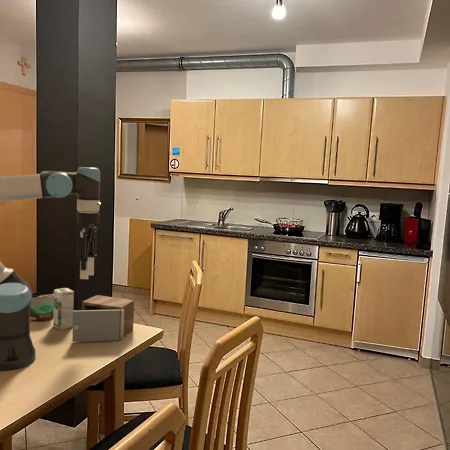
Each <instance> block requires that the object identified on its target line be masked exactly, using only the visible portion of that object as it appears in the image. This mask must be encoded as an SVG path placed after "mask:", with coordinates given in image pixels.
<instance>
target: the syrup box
mask: <svg viewBox="0 0 450 450" xmlns="http://www.w3.org/2000/svg"><path fill="white" fill-rule="evenodd" d="M53 293H54V312H53V319H52V320H53V322H52V325H53V327H54V328H56V329H57V330H58V331H61V330H62V331H63V330H65V329H71V328H72V329H73V311H74V302H75V301H74V297H75V291H74V290H72V289H70V288H68V287H62V288H61V287H60V288H56V289H54V290H53Z"/></svg>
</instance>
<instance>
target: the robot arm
mask: <svg viewBox="0 0 450 450" xmlns="http://www.w3.org/2000/svg"><path fill="white" fill-rule="evenodd" d="M68 195H76V196H77V198H76V200H77V201H76V211H77V213H76V222H77V223H78V224H81V228H80V231H78V232H77V235H78V236H77V237H78V239H77V240H78V241H77V242H78V244H77V261H79V264H80V265H79V279H80V280H89V276H94V274H95V258H97V256H98V255H97V232H98V227H96V226H95V225H97V224H99V223H100V213H99V212H100V206H101V205H102V203H101V202H100V201H101V199H100V197H101V170H100V169H99V168H98V167H86V166H79V167H78V168H77V171H75V172H70V171H69V172H68V171H54V170H53V171H52V170H44V171H42V170H41V172H40V173H32V174H19V175H17V174H16V175H4V176H3V175H2V176H0V203H1V202H11V201H24V200H34V199H35V200H36V199H47V198H51V199H52V198H57V199H61V198H65V197H68ZM32 297H33V292H32V287H31V285H30V284H29V282H28V281H27V280H25V279H24V278H23V277H21V276H19V274H18V273H17V272H16V271H15V270H14V269H13V268H7V267H6V266H5V265H4V264H3V262H1V260H0V371H11V370H16V369H20V368H23V367H27V366H28V365H31V364H32V363H33V362H34V361H35V360H36V355H37V354H36V348H35V347H34V343H33V341H32V337H31V334H30V332H31V331H30V329H31V328H30V327H31V324H30V323H31V321H30V304H31V299H32Z"/></svg>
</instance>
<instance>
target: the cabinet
mask: <svg viewBox="0 0 450 450" xmlns="http://www.w3.org/2000/svg"><path fill="white" fill-rule="evenodd" d="M81 303H82V304H81V310H120V315H121V309H124V329H123V339H124V338H125V337H127V336H128V335H129V334H131V333H133V331H134V319H135V318H134V317H135V316H134V315H135V313H134V312H135V300H134V299H133V300H132V299H128V298H127V299H126V298H118V297H114V296H107V295H99V294H95V296H94V295H93V296H92V297H89V298H88V299H85V300H82V302H81ZM119 340H120V331H119Z"/></svg>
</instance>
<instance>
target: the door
mask: <svg viewBox="0 0 450 450" xmlns="http://www.w3.org/2000/svg"><path fill="white" fill-rule="evenodd" d="M123 329H124V309H121V315H120V310H82V309H81V310H73V327H72V329H71V330H72V333H71V335H72V338H71V339H72V343H79V342H82V343H83V342H102V341H103V342H104V341H106V342H107V341H122V340H123V341H124V338H123ZM119 331H120V339H119Z"/></svg>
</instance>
